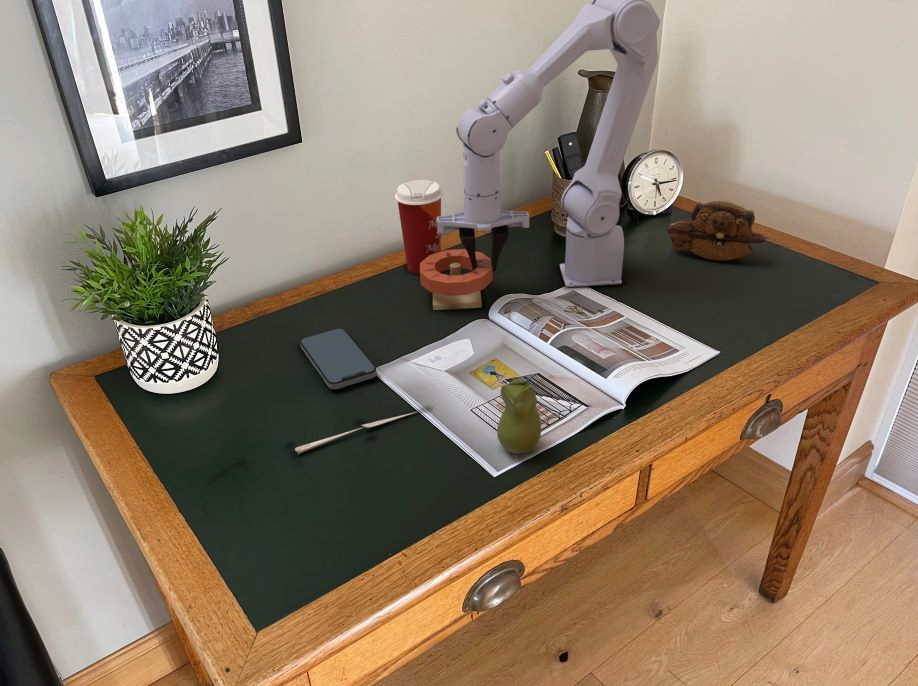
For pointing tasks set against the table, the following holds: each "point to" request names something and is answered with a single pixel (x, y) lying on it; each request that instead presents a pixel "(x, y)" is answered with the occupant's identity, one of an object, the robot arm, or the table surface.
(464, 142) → the robot arm
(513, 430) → the pear
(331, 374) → the smartphone
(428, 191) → the coffee cup
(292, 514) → the table surface
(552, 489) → the table surface
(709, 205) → the wooden carving
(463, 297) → the post
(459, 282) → the ring
